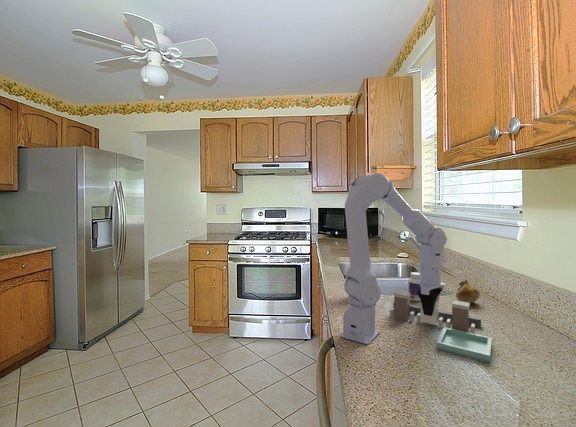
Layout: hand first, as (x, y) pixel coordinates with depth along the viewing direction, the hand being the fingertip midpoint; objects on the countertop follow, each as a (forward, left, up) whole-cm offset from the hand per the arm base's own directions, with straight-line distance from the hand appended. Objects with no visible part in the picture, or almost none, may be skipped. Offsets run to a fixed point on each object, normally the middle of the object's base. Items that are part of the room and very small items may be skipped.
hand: (429, 312), depth 89 cm
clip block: (+3, 0, -3) cm, 5 cm away
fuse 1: (0, +8, -4) cm, 9 cm away
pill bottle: (+22, +9, -4) cm, 24 cm away
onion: (+28, -7, -4) cm, 29 cm away
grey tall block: (0, 0, -2) cm, 2 cm away
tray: (-10, -10, -3) cm, 15 cm away
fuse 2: (0, -8, -4) cm, 9 cm away
